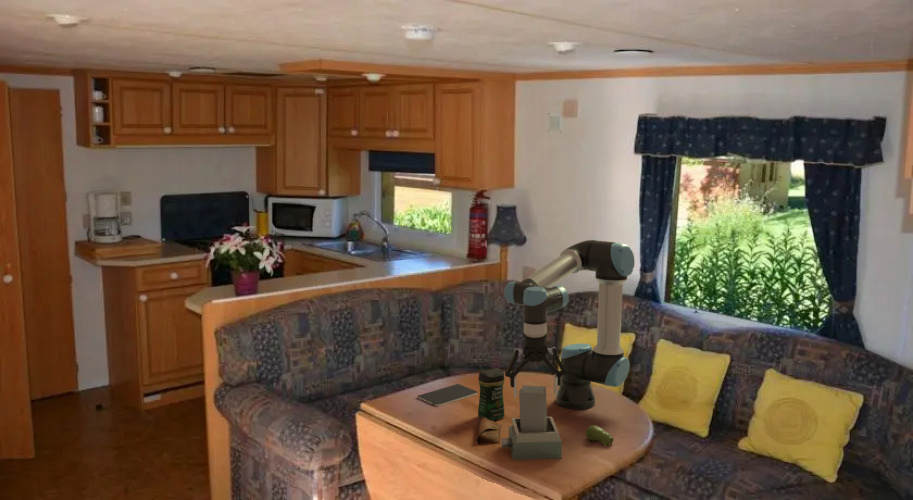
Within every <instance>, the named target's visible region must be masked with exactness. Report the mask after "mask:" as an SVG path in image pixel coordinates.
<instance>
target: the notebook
mask: <svg viewBox="0 0 913 500" xmlns="http://www.w3.org/2000/svg"><path fill="white" fill-rule="evenodd" d="M476 395H478V391H477V390H475V389H472V388H470V387H467V386H464V385H462V384H459V383H457V384H452V385H449V386H446V387H443V388H439V389H435V390H433V391H432V390H431V391H429V392H426V393H422V394H419V395H417V399H419V398H420V399H419V400H421V399H422V400H421V401H423V400H424V402H426V401H427V402H426V403H428V402H429V403H428V404H430V403H431V405H432V404H433V406H435V407H442V406H444V404H445V405H447V403H448V404H450V402H451V403H453V401H454V402H458V401H460V400H463V399H467V398H470V397H473V396H476Z"/></svg>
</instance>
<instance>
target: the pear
mask: <svg viewBox="0 0 913 500" xmlns="http://www.w3.org/2000/svg"><path fill="white" fill-rule="evenodd" d="M585 435H586V438H587V439H588V440H589V441H591V440H592V442H600V444H601V445H603V446H604V445H608V446H610V445H612V444H613V443H614V440H615V439H614V437H613V435H611V434H610V433H609V432H607V431H606V430H605V429H604V428H603V427H602V426H601V427H600V426H598V425H595V424H594V425H593V424H592V425H589V426H588V427H587V428H586V432H585ZM611 443H612V444H611ZM609 444H610V445H609Z"/></svg>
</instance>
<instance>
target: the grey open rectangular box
mask: <svg viewBox="0 0 913 500" xmlns="http://www.w3.org/2000/svg"><path fill="white" fill-rule="evenodd" d="M562 443H563V440H562V439H561V437H560V432H559V429H558V427H557V425H556V423H555V420H554V417H553V416H547V431H546V432H527V433H521V428H520V417H511V425H509V426H508V437H503V438H501V447H502V448H510V449H509V450H510V453H511V457H512V460H513V461H517V460H519V461H521V460H523V461H525V460H554V459H555V460H558V459H559V460H560V459H562V456H563V455H562V453H563V452H562V451H563V450H562V448H563V446H562V445H563V444H562Z"/></svg>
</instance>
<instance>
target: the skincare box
mask: <svg viewBox="0 0 913 500" xmlns="http://www.w3.org/2000/svg"><path fill="white" fill-rule="evenodd" d="M518 396H519V397H518V399H519V400H518V401H519V418H520V428H521V433H527V432H546V431H547V417H548V409H547V407H548V405H547V387H546V386H543V385H539V386H538V385H528V384H527V385H525V384H524V385H523V384H522V387H521V388H520V390H519V391H518Z"/></svg>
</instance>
